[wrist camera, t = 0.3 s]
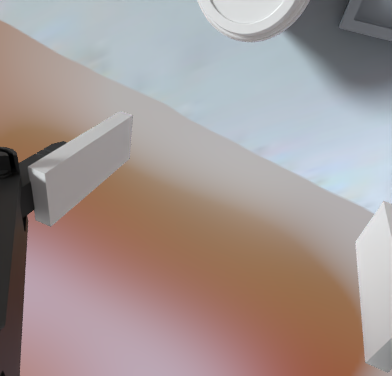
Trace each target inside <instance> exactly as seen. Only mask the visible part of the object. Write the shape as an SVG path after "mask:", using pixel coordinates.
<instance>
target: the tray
mask: <svg viewBox="0 0 392 376" xmlns="http://www.w3.org/2000/svg"><path fill="white" fill-rule="evenodd" d="M339 29H343V30H347V31H351V32H355V33H359V34H363V35H367V36H371V37H375V38H379V39H383V40H388V41H392V0H349V2H348V4H347V7H346V9H345V12H344V14H343V17H342V19H341V22H340V24H339Z"/></svg>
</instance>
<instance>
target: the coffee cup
mask: <svg viewBox="0 0 392 376" xmlns="http://www.w3.org/2000/svg"><path fill="white" fill-rule="evenodd" d="M309 2H310V0H198V3H199V6H200V8H201V10H202V12H203V14H204V15H205V17H206V18H207V20H208V21H209V22H210V23H211V25H212V26H213V27H214V28H216V29H217V30H218V31H219V32H221V33H222V34H223V35H225V36H227V37H229V38H231V39H234V40H237V41H242V42H259V41H264V40H267V39H270V38H272V37H275V36H277V35H279V34H280V33H282V32H283V31H285V30H286V29H287V28H289V27H290V26H291V25H292V24H293V23H294V22H295V21H296V20H297V19H298V18H299V17H300V15H301V14H302V13H303V11H304V10H305V8H306V7H307V5H308V3H309Z"/></svg>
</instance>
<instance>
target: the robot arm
mask: <svg viewBox="0 0 392 376" xmlns="http://www.w3.org/2000/svg"><path fill="white" fill-rule="evenodd" d="M132 119H133V115H131V114H128V113H125V112H122V111H119V112H118V113H116V114H114V115H113V116H111V117H110V118H108V119H106V120H105V121H103V122H101V123H99V124H98V125H97V126H94V127H93V128H91V129H90V130H88V131H86V132H84V133H83V134H81V135H80V136H78V137H76V138H75V139H73V140H71V141H70V142H68V143H66V142H64V141H63V142H58V143H54V144H51V145H50V146H48V147H46V148H44V150H41V151H39V152H37V154H34V155H32V156H31V157H29V158H27V159H25V160H24V161H22V162H20V163H18V157H17V153H16V152H15V151H14V150H13V149H10V148H7V147H0V376H20V355H21V339H22V321H23V303H24V284H25V267H26V250H27V232H28V218H27V215H28V214H29V213H30V212H32V211H33V210H34V212H35V219H36V220H37V221H39V222H41V223H44V224H46V225H48V226H52V225H53V224H54V223H56V222H57V221H58V220H59V219H60V218H61V217H62V216H64V215H65V214H66V213H67V212H68V211H69V210H71V209H72V208H73V207H74V206H75V205H76V204H78V203H79V202H80V201H81V200H82V199H83V198H84V197H86V196H87V195H88V194H89V193H90V192H92V190H94V189H95V188H96V187H97V186H98V185H99V184H101V183H102V182H103V181H104V180H105V179H106V178H108V177H109V176H110V175H111V174H112V173H114V172H115V171H116V170H117V169H118V168H119V167H120V166H122V165H123V164H124V163H125V162H126V161H127V160H128V159H130V147H131V134H132ZM355 243H356V255H357V267H358V279H359V291H360V303H361V315H362V327H363V339H364V351H365V363H367V364H369V365H371V366H374V367H376V368H378V369H381V370H383V371H385V372H389V371H390V370H391V369H392V204H391V203H388V202H385V201H383V202H382V204H381V205H380V207H379V208H378V210H377V211H376V213H375V214H374V216H373V217H372V219H371V220H370V222H369V223H368V224H367V226H366V227H365V229H364V230H363V232H362V233H361V235H360V236H359V238H358V239H357V241H356V242H355Z"/></svg>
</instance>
